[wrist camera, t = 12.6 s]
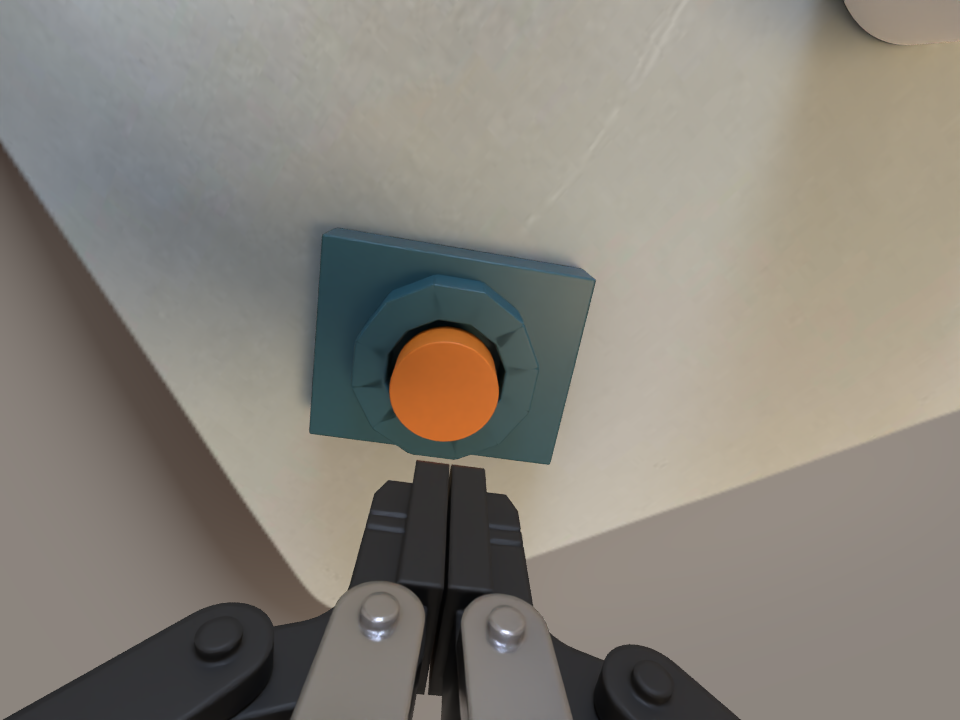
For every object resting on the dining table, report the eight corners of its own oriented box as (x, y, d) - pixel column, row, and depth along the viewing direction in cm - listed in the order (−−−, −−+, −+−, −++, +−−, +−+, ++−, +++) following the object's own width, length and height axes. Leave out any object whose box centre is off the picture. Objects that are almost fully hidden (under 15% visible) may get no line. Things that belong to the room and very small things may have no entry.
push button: (389, 411, 19) (383, 434, 17) (401, 318, 18) (395, 333, 16) (485, 424, 19) (488, 448, 18) (503, 334, 18) (508, 350, 16)
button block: (321, 410, 23) (295, 457, 19) (335, 226, 20) (307, 240, 16) (542, 439, 24) (557, 490, 20) (583, 268, 21) (610, 290, 17)
